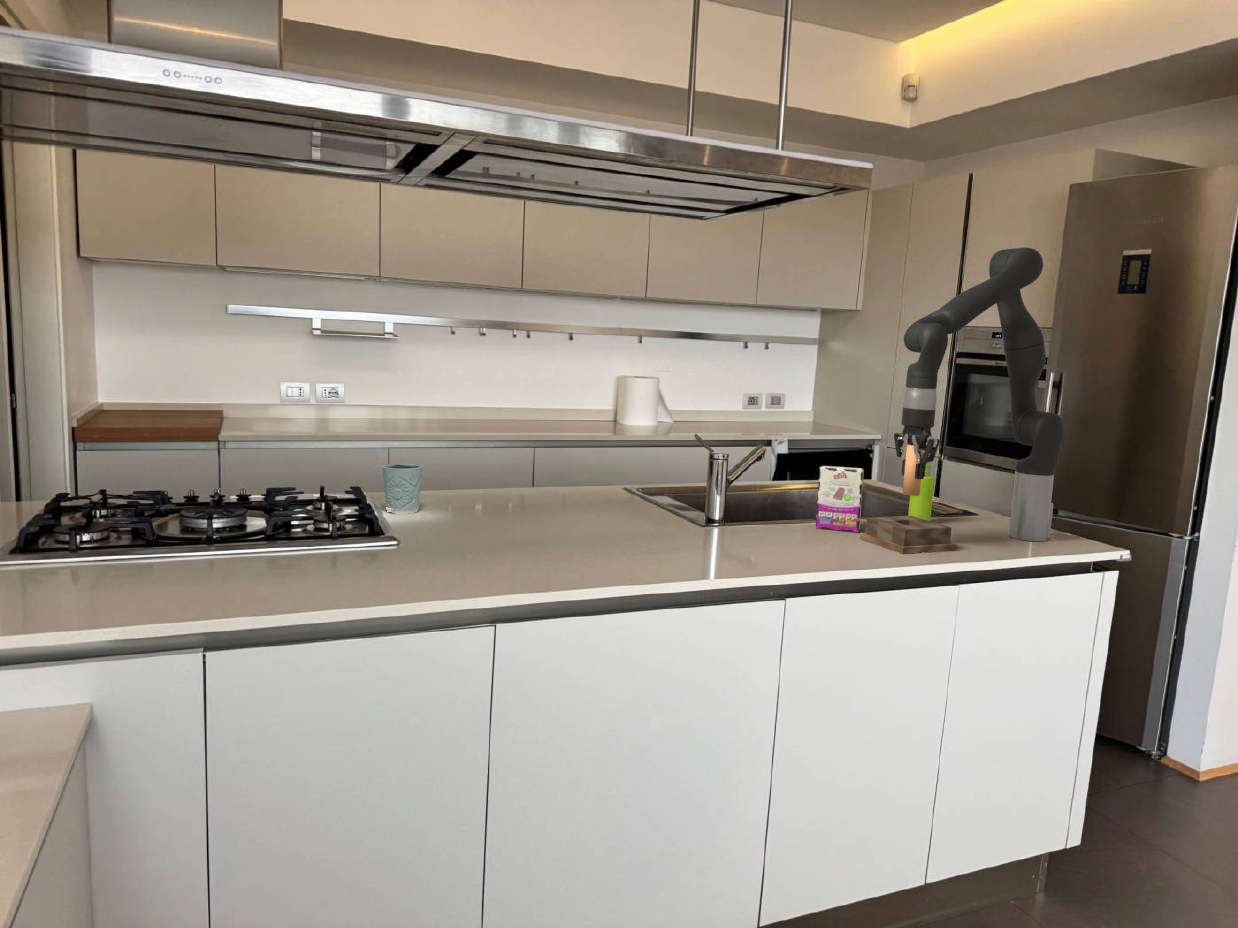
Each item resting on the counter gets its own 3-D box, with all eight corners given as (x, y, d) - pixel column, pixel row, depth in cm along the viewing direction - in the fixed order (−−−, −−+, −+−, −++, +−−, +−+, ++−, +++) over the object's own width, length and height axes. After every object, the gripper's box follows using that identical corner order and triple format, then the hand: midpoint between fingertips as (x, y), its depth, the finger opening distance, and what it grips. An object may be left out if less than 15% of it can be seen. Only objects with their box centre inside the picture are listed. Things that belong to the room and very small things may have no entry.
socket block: (909, 535, 228) (911, 514, 227) (955, 550, 213) (957, 528, 212) (859, 538, 221) (861, 517, 221) (902, 553, 207) (904, 531, 206)
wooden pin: (911, 492, 218) (916, 444, 216) (923, 495, 214) (927, 446, 213) (898, 493, 216) (903, 444, 215) (910, 495, 213) (914, 446, 211)
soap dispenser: (935, 526, 242) (942, 453, 239) (909, 524, 243) (915, 452, 240) (932, 522, 247) (938, 451, 245) (906, 520, 249) (912, 449, 246)
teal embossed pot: (393, 516, 224) (394, 469, 222) (375, 509, 231) (375, 464, 230) (429, 512, 231) (429, 467, 229) (409, 505, 238) (410, 461, 237)
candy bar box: (860, 529, 233) (865, 468, 231) (858, 533, 228) (863, 470, 226) (816, 525, 237) (821, 464, 234) (814, 528, 232) (819, 466, 230)
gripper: (952, 409, 208) (945, 481, 210) (911, 404, 220) (905, 472, 223) (927, 409, 205) (920, 482, 207) (887, 404, 218) (881, 473, 220)
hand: (912, 477), depth 215 cm, fingers closed on wooden pin, 4 cm apart
